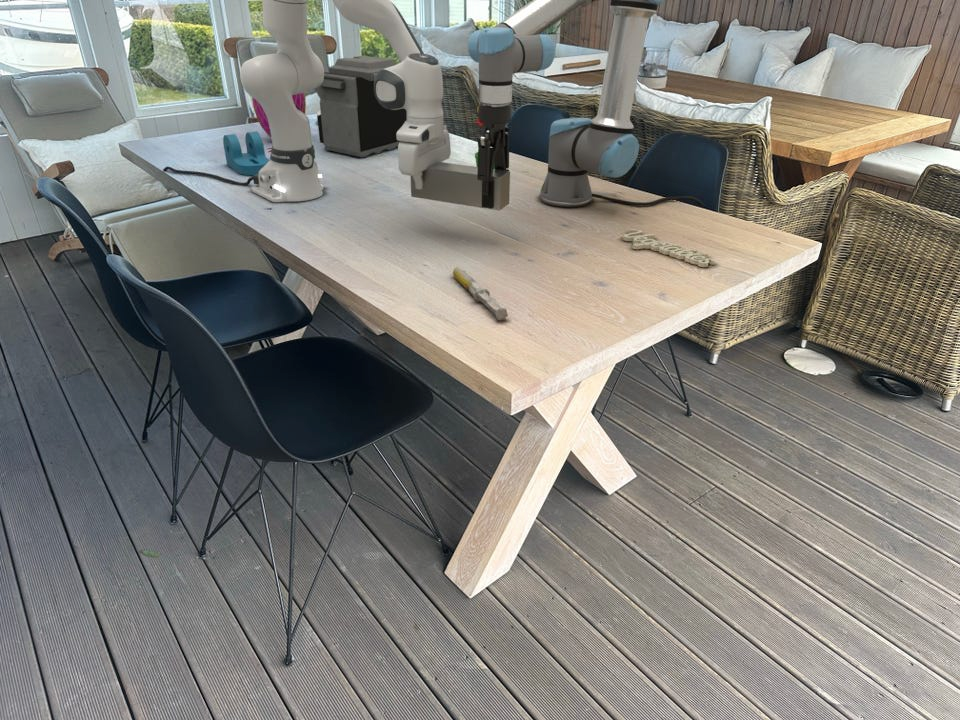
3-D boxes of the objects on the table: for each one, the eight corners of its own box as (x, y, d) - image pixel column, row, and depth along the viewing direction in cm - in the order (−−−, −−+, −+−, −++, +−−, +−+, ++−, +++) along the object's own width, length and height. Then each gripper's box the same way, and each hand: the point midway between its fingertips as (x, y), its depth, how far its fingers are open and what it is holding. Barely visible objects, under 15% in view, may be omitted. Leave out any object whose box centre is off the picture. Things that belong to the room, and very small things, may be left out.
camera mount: (227, 164, 233) (221, 132, 227) (257, 160, 238) (252, 129, 233) (244, 176, 220) (239, 143, 215) (276, 172, 225) (271, 139, 220)
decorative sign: (608, 236, 174) (633, 227, 180) (608, 240, 175) (632, 231, 180) (698, 267, 157) (722, 256, 163) (698, 271, 158) (721, 260, 163)
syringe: (449, 274, 155) (449, 263, 153) (465, 272, 156) (464, 260, 154) (490, 323, 135) (491, 310, 133) (508, 319, 136) (508, 307, 134)
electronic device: (383, 133, 276) (378, 52, 261) (425, 141, 265) (422, 56, 250) (314, 150, 251) (304, 61, 235) (358, 160, 240) (350, 67, 224)
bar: (509, 203, 168) (510, 171, 164) (499, 210, 164) (500, 177, 160) (422, 190, 177) (421, 159, 173) (411, 196, 173) (409, 164, 169)
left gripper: (434, 118, 175) (435, 173, 182) (392, 134, 159) (395, 193, 166) (456, 121, 172) (456, 176, 179) (415, 137, 156) (418, 197, 163)
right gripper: (496, 95, 164) (494, 191, 176) (461, 109, 149) (462, 212, 161) (525, 98, 161) (521, 195, 173) (493, 112, 146) (491, 217, 158)
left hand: (426, 184), depth 172 cm, fingers closed on bar, 6 cm apart
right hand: (493, 203), depth 167 cm, fingers closed on bar, 6 cm apart
